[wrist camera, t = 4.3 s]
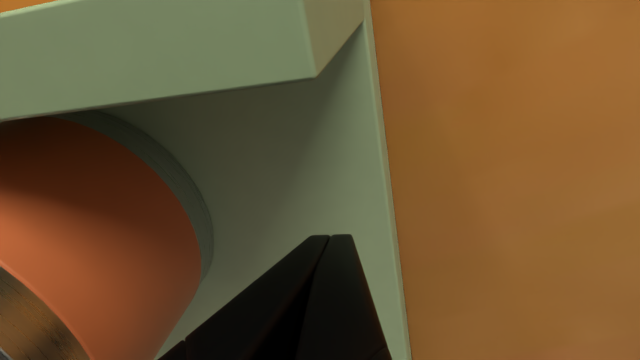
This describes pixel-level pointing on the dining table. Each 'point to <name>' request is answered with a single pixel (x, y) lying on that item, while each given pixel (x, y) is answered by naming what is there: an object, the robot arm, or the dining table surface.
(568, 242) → the dining table surface
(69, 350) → the tin can
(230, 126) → the green corner tray
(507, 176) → the dining table surface
